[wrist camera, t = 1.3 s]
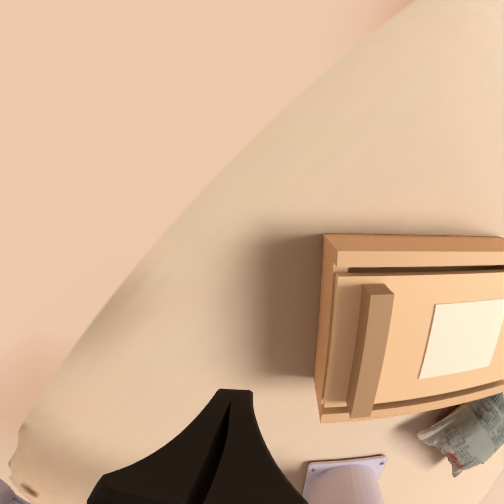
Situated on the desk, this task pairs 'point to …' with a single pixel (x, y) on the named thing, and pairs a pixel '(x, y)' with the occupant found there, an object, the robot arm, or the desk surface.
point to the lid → (413, 336)
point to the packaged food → (468, 432)
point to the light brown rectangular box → (389, 261)
